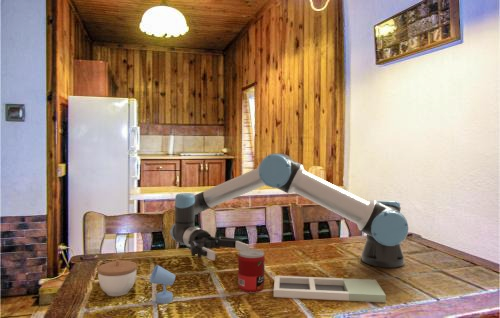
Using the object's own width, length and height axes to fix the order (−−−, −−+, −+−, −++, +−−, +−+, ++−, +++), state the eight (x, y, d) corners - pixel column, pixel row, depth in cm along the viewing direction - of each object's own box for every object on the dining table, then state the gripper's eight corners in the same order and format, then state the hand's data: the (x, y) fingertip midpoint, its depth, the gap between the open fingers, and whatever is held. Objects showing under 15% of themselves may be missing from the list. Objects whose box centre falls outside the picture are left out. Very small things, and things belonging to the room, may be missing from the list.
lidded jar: (144, 288, 111) (144, 257, 111) (120, 302, 101) (120, 268, 101) (115, 283, 115) (114, 253, 114) (89, 296, 104) (89, 263, 104)
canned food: (262, 294, 107) (262, 256, 107) (235, 291, 109) (235, 254, 108) (266, 284, 115) (266, 249, 114) (241, 282, 116) (241, 247, 116)
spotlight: (151, 305, 99) (176, 302, 101) (150, 268, 98) (176, 266, 101) (149, 298, 103) (173, 295, 106) (148, 263, 103) (173, 260, 105)
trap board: (375, 286, 114) (375, 279, 114) (385, 302, 102) (385, 295, 102) (275, 281, 117) (275, 275, 117) (273, 296, 105) (273, 290, 105)
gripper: (225, 243, 144) (260, 257, 127) (166, 255, 128) (198, 271, 111) (225, 224, 143) (261, 235, 127) (166, 233, 128) (198, 247, 111)
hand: (231, 252), depth 119 cm, fingers open, 13 cm apart
